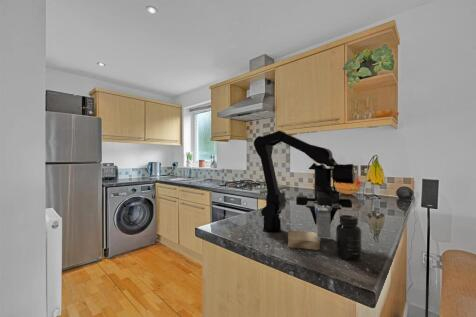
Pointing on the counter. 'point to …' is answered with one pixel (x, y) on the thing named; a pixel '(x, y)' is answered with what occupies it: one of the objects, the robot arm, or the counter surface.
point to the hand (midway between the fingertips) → (322, 224)
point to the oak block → (303, 240)
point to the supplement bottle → (348, 238)
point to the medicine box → (322, 222)
